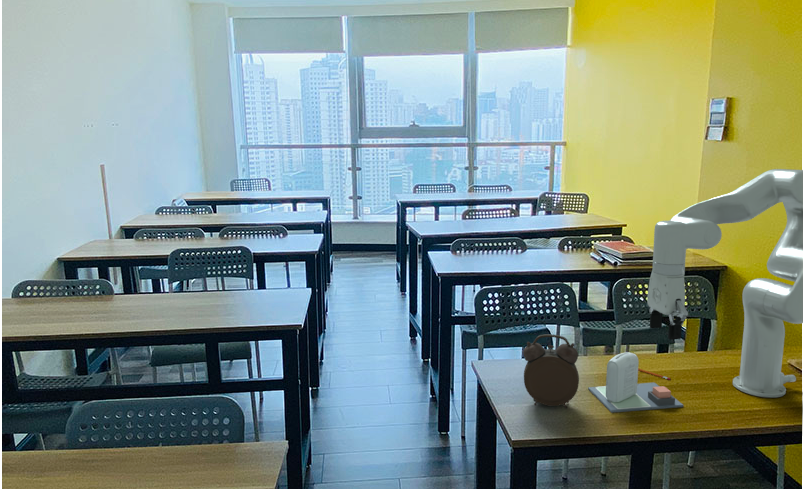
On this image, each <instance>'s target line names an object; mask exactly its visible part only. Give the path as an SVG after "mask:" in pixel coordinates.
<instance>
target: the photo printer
mask: <svg viewBox="0 0 803 489" xmlns="http://www.w3.org/2000/svg"><path fill="white" fill-rule="evenodd" d="M638 368H639V357H638V356H637V355H636V354H635V353H633V352H628V351H627V352H622V353H619V354H616V355H615V356H613V357H612V358H610V360H608V362H607V364H606V377H605V378H606V379H605V380H606V381H605V386H606V398H607V399H608V400H609V401H612V402H619V401H622V400H624V399H627V398H629V397H631V396H633V395H635V394H636V393H637V384H638V378H639V376H638V375H639V371H638Z"/></svg>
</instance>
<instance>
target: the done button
mask: <svg viewBox="0 0 803 489" xmlns="http://www.w3.org/2000/svg"><path fill="white" fill-rule="evenodd" d="M659 386H660V385H659ZM671 393H672V391H671V390H669V389H668V387H666V386H664V385H663V386H662V385H661V386H660V387H653V394H654V395H655V396H656V397H658V398H670V397H671V395H672V394H671Z"/></svg>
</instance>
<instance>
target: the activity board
mask: <svg viewBox="0 0 803 489" xmlns="http://www.w3.org/2000/svg"><path fill="white" fill-rule="evenodd" d="M653 387H660V385H658V384H657V383H656V382H644V383H643V382H642V383H637V393H636V394H635V395H633V396H631V397H629V398H627V399H624V400H622V401H619V402H612V401H609V400H608V399H607V398H606V385H604V386H589V387H588V388H587V389H588V391H589V392H590V393H591V394H592V395H593V396H594V398H596V399H598V401H599V402H600V403H601V404H602V405H603V406H604V407H605V408H606V409H607V410H608V411H609V412H610V413H621V412H636V411H646V410H647V411H648V410H649V411H650V410H660V409H672V408H673V409H675V408H684V404H683V403H681V402H680V401H679V400H678V399H677V398H676V397H674V396H673V395H672V394H671V397H670V398H658V397H656V396H655V395H654V394H653Z"/></svg>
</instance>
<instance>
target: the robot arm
mask: <svg viewBox="0 0 803 489" xmlns="http://www.w3.org/2000/svg"><path fill="white" fill-rule="evenodd" d="M779 203H782V204H783V206H784V209H785V214H786V225H785V228H784V230H783V231H782V234H781V236H780V237H779V239H778V241H777V243H776V244H775V246H774V248H773V250H772V251H771V253H770V255H769V257H768V259H767V262H766V267H767V269H766V270H767V271H768V272H769V274H771V275H773V276H774V277H777V278H780V279H784V280H787V281H790V282H794V283H793V284H789V283H786V282H783V281H779V280H774V279H771V278H765V277H763V278H762V277H760V278H758V277H757V278H754V279H752V280H750V281H748V282H747V283H746V285H745V286H744V288H743V290H742V295H741V296H742V305H743V306H742V307H743V312H744V314H743V315H744V316H743V317H744V322H743V325H744V326H743V334H742V345H741V356H740V368H739V375H738V376H735V377H734V378H732V385H733V387H735V388H736V389H737V390H739V391H741V392H743V393H746V394H749V395H751V396H755V397H760V398H770V399H771V398H781V397H783V396H784V395H786V393H787V392H786V391H787V389H786V387H785V386H784V384H786V383H794V382H796V381H797V376H795V375H794V374H786V375H785V374H784V372H782V364H783V355H784V345H785V336H786V333H785V332H786V328H785V325H784V322H787V323H790V324H794V325H796V324H797V325H799V324H803V169H786V168H774V169H769V170H766V171H764V172H762V173H761V174H759V175H758V176H755V177H754V178H753V179H751V180H749V181H748V182H746V183H744V184H742V185H741V186H739V187H737V188H736V189H734V190H733V191H731V192H728V193H725V194H722V195H719V196H716V197H713V198H710V199H706V200H703V201H701V202H697V203H695V204H693V205H690V206H689V207H687V208H685V209H683V210H681V211H680V212H678V213H677V214H675V215H674V216H672V217H671V218H670V219H669V220H660V221H658V222H656V224H655V225H654V231H653V234H654V235H653V252H652V253H653V255H652V270H651V274H650V277H649V283H648V290H647V296H646V298H647V299H646V301H647V305H648V307H649V310H648V312H649V314H650V315H649V328H650V329H660V328H661V329H662V327H663V315H665V316H668V317H669V321H670V323H669V324H668V332H667V333H668V334H667V338H668V339H669V340H670V341H672V340H681V339H682V330H683V328H682V327H683V325H684V322H686V318H687V317H688V316H689V312H688V311H687V309H686V307H685V306H686V305H685V303H686V287H685V286H686V285H685V272H686V270H685V269H686V255H687V254H686V253H687V249H689V250H690V249H691V250H709V249H712V248H714V247H715V246H717V245H719V243H720V241H721V239H722V237H723V236H722V234H723V233H722V229H721V228H720V226H719V225H722V224H723V225H724V224H736V223H742V222H747V221H750V220H752V219H754V218H756V217H757V216H759V215H760V214H762V213H764V212H765V211H767V210H769V209H771V208H772V207H774V206H776V205H777V204H779Z"/></svg>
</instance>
